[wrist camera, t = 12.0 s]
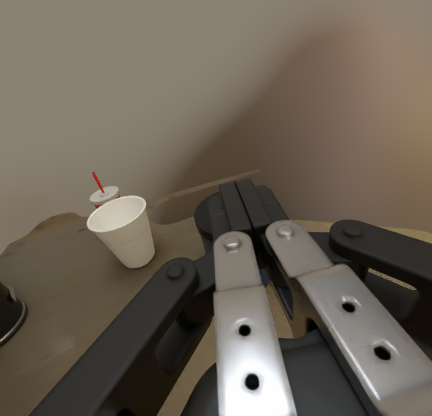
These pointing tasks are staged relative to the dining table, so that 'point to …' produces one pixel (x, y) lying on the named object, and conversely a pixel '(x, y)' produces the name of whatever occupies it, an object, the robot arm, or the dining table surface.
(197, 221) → the blue lidded canister
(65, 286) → the dining table surface
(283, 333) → the dining table surface
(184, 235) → the dining table surface
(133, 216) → the cup
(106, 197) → the beverage cup
